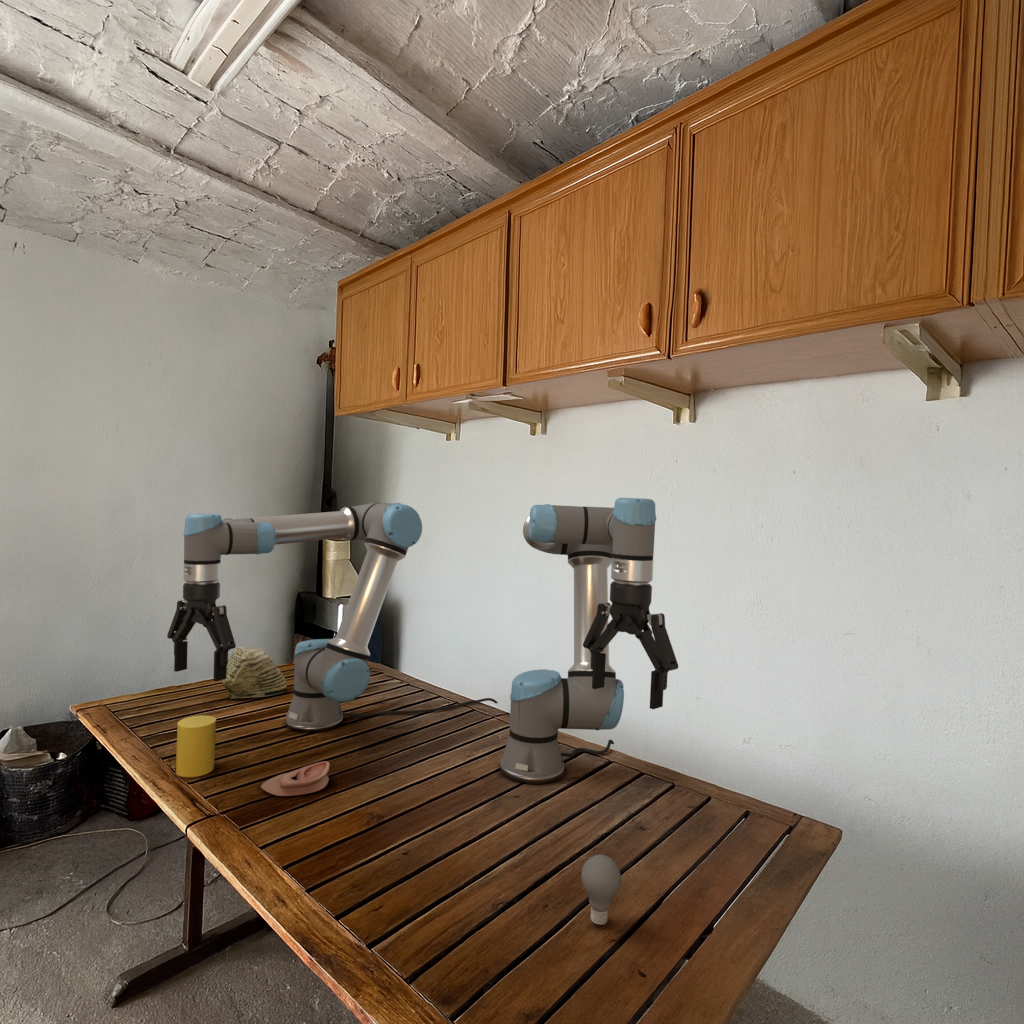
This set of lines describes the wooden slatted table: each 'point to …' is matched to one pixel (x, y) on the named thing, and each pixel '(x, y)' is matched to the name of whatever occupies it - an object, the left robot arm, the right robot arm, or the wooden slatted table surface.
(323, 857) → the wooden slatted table surface
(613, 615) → the right robot arm
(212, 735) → the canister
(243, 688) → the fossil
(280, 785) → the anatomical model
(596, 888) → the light bulb
